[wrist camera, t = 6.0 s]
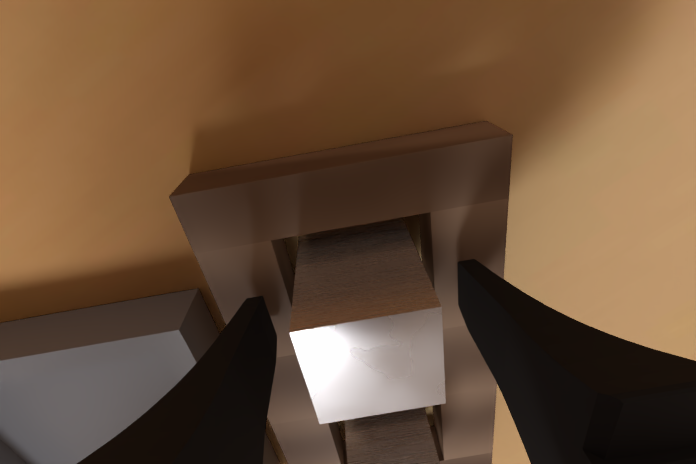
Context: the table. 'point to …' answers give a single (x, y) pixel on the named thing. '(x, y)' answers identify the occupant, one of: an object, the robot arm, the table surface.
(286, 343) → the wooden board with recesses
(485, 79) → the table surface
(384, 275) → the block
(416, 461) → the block
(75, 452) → the tray
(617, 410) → the robot arm
